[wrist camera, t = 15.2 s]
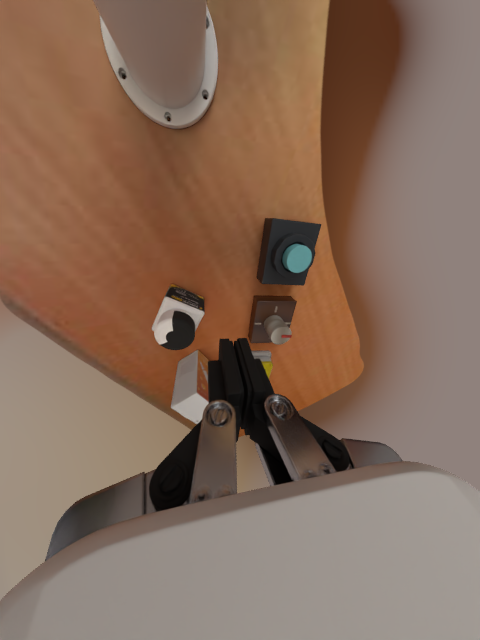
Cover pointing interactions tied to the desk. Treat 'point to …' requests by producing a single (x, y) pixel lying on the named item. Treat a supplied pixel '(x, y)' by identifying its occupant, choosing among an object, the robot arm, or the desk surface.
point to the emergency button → (264, 360)
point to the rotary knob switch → (266, 308)
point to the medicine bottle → (178, 318)
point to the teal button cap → (297, 258)
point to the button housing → (274, 245)
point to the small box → (191, 387)
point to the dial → (277, 329)
